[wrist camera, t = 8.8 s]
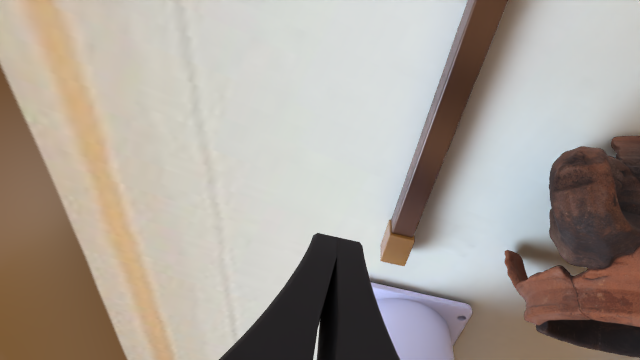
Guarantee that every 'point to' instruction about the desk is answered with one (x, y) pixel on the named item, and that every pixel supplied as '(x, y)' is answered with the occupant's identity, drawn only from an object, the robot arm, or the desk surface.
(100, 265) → the desk surface
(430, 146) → the walnut slot
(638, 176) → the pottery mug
